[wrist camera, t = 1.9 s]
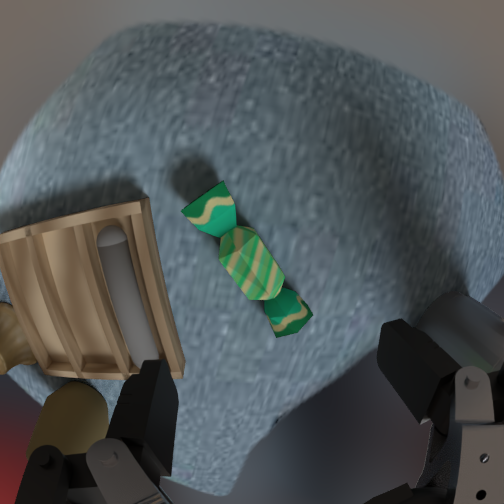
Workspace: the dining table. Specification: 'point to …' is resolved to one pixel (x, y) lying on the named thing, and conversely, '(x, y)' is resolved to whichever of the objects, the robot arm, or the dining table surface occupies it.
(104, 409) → the squeeze bottle
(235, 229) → the candy
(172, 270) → the dining table surface
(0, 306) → the hand bell
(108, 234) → the grey capsule rod
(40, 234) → the wooden compartment tray
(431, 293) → the dining table surface
